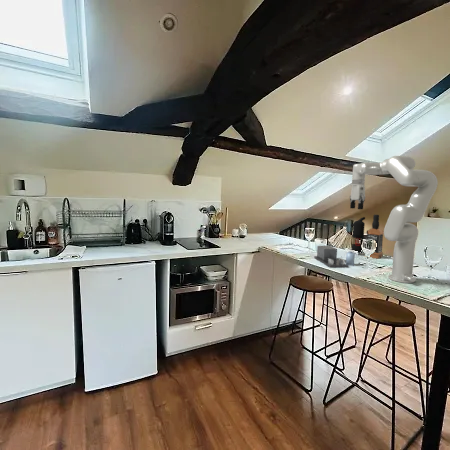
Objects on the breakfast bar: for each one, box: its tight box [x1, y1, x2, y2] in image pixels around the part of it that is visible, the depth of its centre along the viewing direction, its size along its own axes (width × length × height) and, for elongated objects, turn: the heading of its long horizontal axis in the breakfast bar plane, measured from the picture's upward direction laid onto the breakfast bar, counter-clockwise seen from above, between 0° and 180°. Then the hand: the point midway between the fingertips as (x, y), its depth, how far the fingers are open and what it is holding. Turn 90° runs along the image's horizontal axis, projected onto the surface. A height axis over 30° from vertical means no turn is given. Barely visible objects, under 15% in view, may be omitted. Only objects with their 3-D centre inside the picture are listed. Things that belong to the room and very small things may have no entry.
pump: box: [345, 251, 356, 267], centre depth 184 cm, size 5×5×9 cm
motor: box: [314, 245, 349, 269], centre depth 191 cm, size 29×12×10 cm, turn 4°
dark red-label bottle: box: [350, 216, 366, 254], centre depth 216 cm, size 14×9×30 cm
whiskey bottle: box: [366, 214, 384, 260], centre depth 207 cm, size 10×10×32 cm
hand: (356, 208), depth 184 cm, fingers open, 9 cm apart
